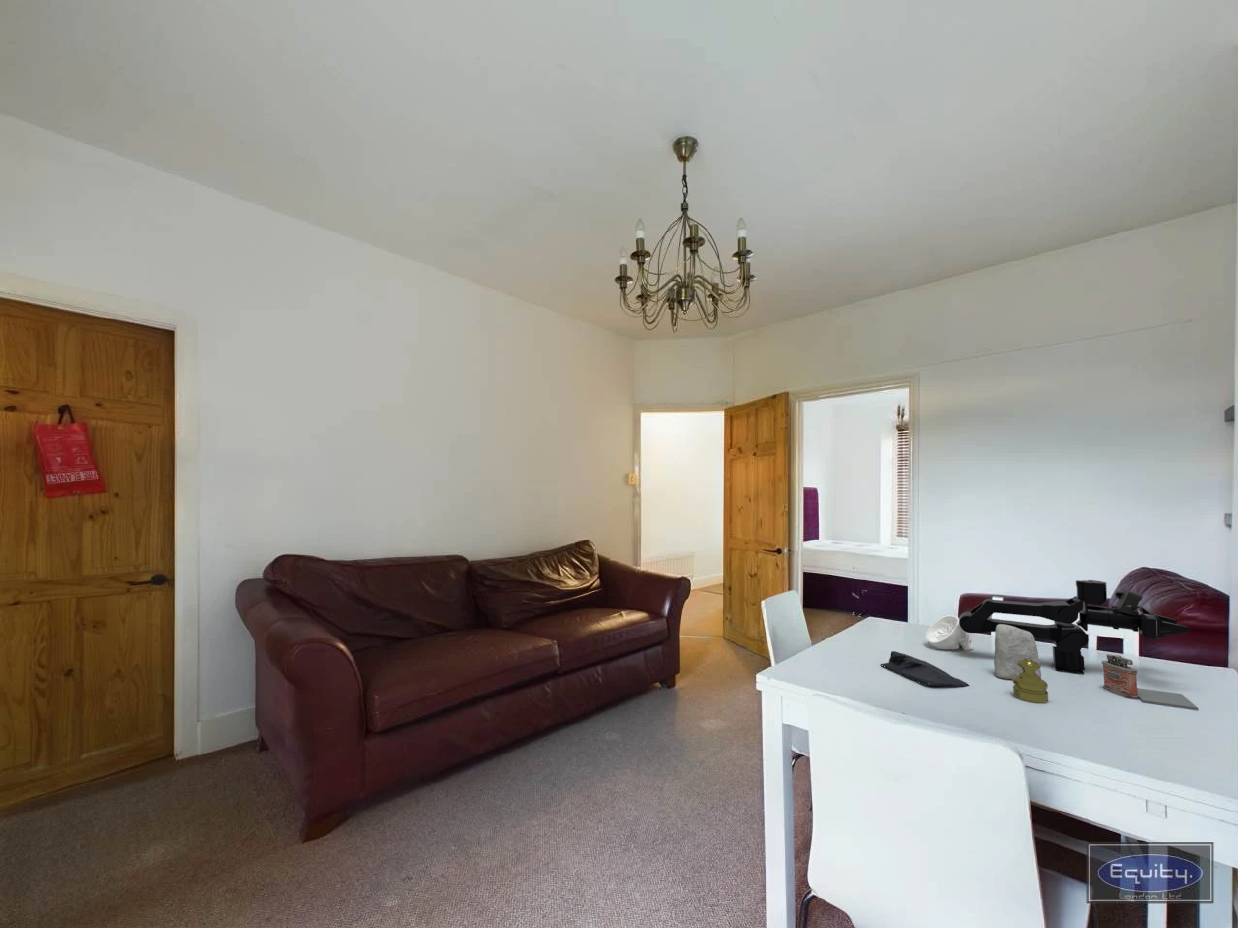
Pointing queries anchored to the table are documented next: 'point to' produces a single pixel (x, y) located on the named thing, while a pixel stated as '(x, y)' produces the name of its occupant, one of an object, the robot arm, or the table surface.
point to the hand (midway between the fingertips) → (1182, 625)
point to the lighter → (1120, 677)
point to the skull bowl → (948, 634)
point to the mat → (1165, 699)
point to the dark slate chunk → (921, 671)
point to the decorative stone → (1013, 650)
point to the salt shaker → (1030, 683)
